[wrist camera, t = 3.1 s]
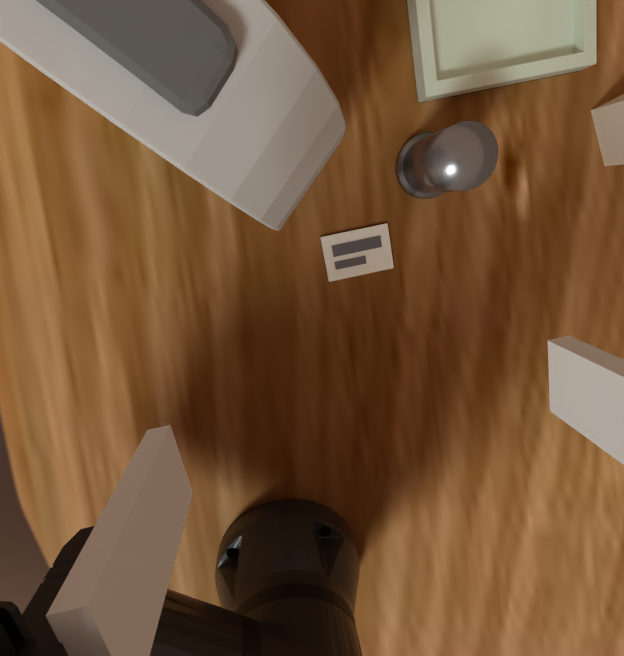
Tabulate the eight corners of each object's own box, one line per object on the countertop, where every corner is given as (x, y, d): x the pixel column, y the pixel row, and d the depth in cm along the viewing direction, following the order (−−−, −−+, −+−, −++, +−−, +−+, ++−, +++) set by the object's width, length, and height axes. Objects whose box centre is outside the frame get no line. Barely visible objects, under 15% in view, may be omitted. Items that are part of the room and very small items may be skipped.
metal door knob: (399, 203, 37) (434, 203, 29) (391, 140, 35) (425, 122, 28) (457, 191, 37) (506, 188, 29) (451, 128, 35) (501, 106, 28)
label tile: (328, 281, 38) (329, 282, 38) (320, 237, 37) (320, 237, 37) (392, 267, 38) (394, 268, 38) (386, 223, 37) (387, 223, 37)
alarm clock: (40, 54, 31) (-312, -180, 12) (90, -41, 30) (-217, -464, 11) (276, 226, 36) (284, 248, 17) (327, 151, 35) (396, 87, 16)
